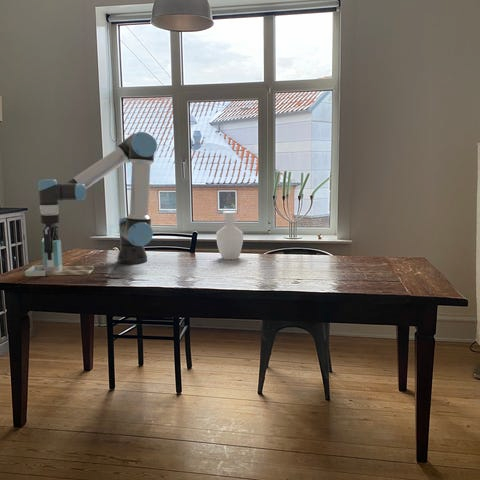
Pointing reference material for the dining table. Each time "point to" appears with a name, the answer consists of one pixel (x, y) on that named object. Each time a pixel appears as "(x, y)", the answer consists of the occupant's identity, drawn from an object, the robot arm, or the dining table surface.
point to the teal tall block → (57, 257)
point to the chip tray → (34, 272)
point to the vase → (229, 237)
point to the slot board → (73, 270)
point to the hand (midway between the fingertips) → (53, 265)
